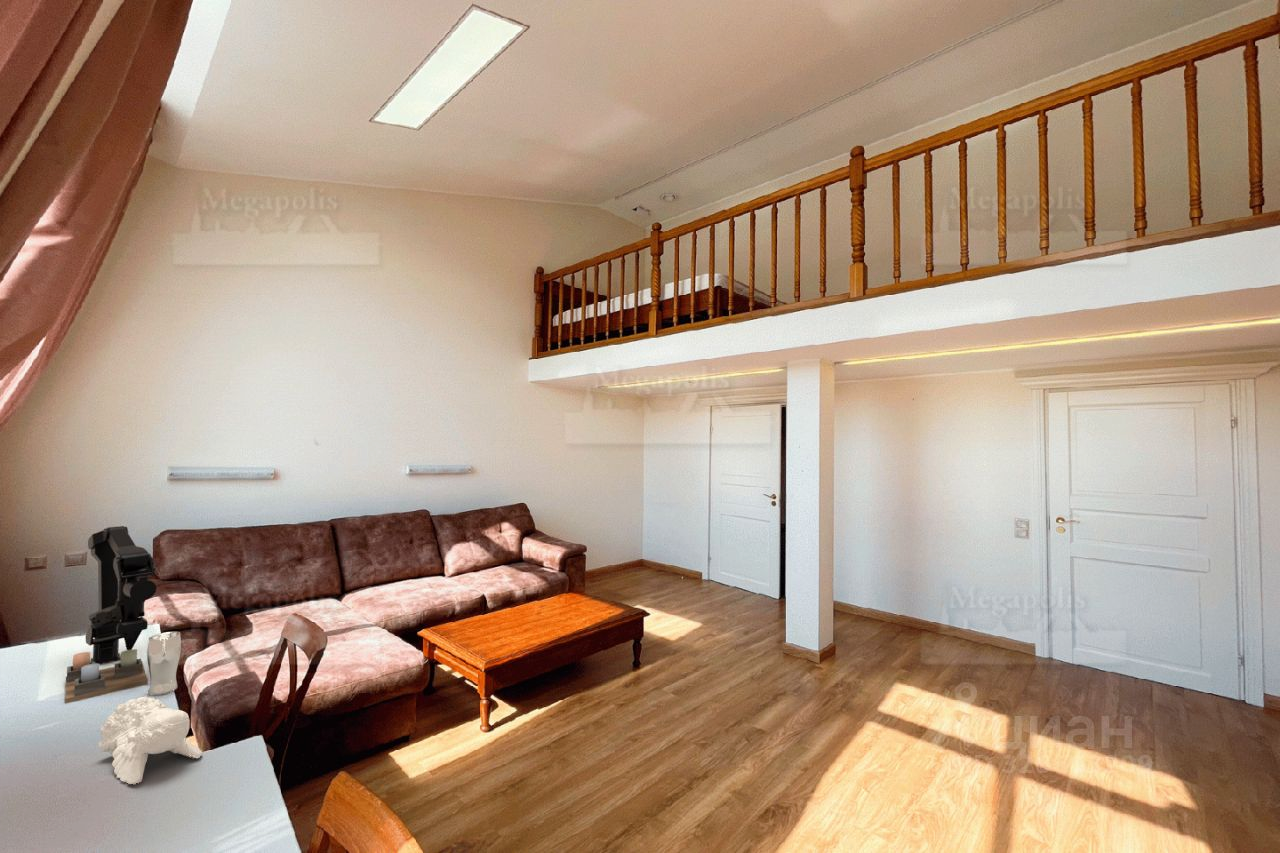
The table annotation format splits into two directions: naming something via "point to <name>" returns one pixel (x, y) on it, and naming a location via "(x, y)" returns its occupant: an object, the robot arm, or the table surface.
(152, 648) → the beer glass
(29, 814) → the table surface
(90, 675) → the slate button
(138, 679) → the button panel
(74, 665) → the terracotta button
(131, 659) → the sage button
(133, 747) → the white curly sculpture
